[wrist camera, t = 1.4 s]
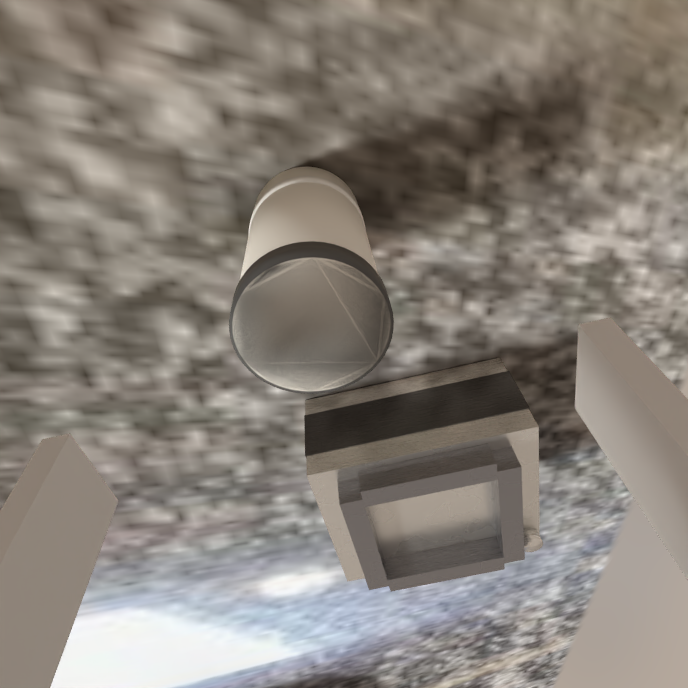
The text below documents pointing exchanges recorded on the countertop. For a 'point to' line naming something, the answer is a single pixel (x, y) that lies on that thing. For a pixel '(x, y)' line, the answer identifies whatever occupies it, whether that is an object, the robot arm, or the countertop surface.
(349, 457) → the grey square holder base
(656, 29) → the countertop surface
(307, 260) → the beige and black cylinder
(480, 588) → the countertop surface
